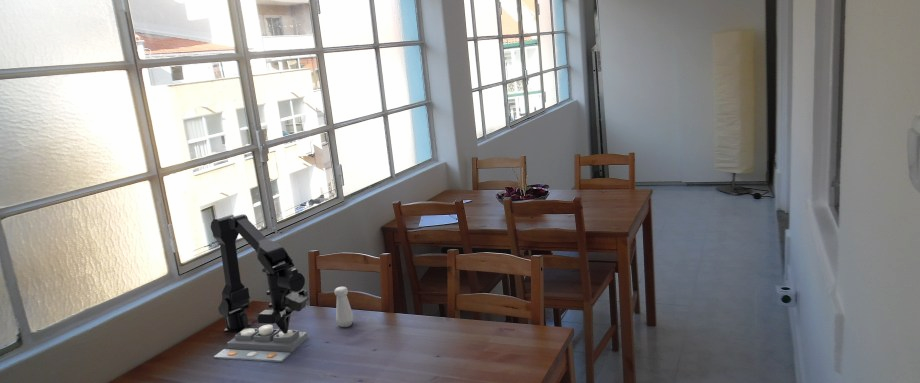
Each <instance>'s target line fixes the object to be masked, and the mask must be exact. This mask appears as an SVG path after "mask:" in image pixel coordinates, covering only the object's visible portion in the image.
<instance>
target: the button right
mask: <svg viewBox="0 0 920 383" xmlns="http://www.w3.org/2000/svg"><path fill="white" fill-rule="evenodd" d="M292 330H293V329H288V332H287V333H286V334H285V333H283V332H280V333H279V337H290V336H291V335H292V334H293V331H292Z"/></svg>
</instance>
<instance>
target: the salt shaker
mask: <svg viewBox="0 0 920 383" xmlns="http://www.w3.org/2000/svg"><path fill="white" fill-rule="evenodd" d="M348 291H349V290H348V288H347V287H346V286H338V287H336V288H334V295H335V297H336V305H335V306H336V307H335V308H336V313H335V321H336V323H337V324H338V325H339V327H341V328H348V327H351V326H352V324H353V322H354V318H355V317H354V314H353V310H352V308H351V304H350V302H349V297H348V296H347V295H348V293H349V292H348Z"/></svg>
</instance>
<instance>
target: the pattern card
mask: <svg viewBox="0 0 920 383" xmlns="http://www.w3.org/2000/svg"><path fill="white" fill-rule="evenodd" d="M291 353H292V352H282V351H263V350H244V349H228V348H223V349H222V350H221V351H219V352H218V353H217V354H215V355H214V356H213V359H222V360H223V359H225V360H243V361H259V362H276V363H283V362H284V361H285V360H286V359H287V358H288V357H289V356H290V355H291Z"/></svg>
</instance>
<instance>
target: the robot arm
mask: <svg viewBox="0 0 920 383" xmlns="http://www.w3.org/2000/svg"><path fill="white" fill-rule="evenodd" d="M210 229H211V233H212V237H213V238H214V239H215V240H216V241H217V242H218V243H219V247H220V255H221V256H220V257H221V261H222V269H223V275H224V283H225V286H224V287H223V290H222V292H221V302H220V303H219V306H218V308H217V310H218V312H219V315H222V316H223V317H224V319H225V325H226V328H224V330H223V331H224V332H228V333H229V332H231V333H239V332H240V331H242V330H243V329H245V328H249V326H251V325H252V324H251V322H249V320H248V314H247V313H246V310H247V309H249V308H250V299H251V297H250V290H249V288H248V287H246V286H245V285H244V283H243V282H242V279H241V273H240V271H241V270H240V265H239V259H238V258H239V257H238V252H237V251H238V250H237V239H238V236H239V235H240V236H241V237H242V238H243V239H244V240H245V241H246V242H247V243H248V245H250V246H251V247H252V249H253V250H255V252H256V256H257V260H258V261H259V263H260V264H261V266H263V268H262V269H261V271H262V273H265V275H266V280H267V286H268V290H267V291H266V295H267V296H269V298H270V303H269V304H268V308H272V309H264V310H263V311H261V312H260V313H258V315H257V316H256V319H257V320H256V321H257V323H258V324H264V325H273V324H276V326H277V327H278V329H279V330H280V331H282V332H283V333H285V334H286V333H287V332H288V330H289V326H290V321H291V320H290V319H291V316H292V314H293V313H294V312H301V311H302V310H303V309H304V308H306V304H307V302H309V300H310V299H309V294H308V291H307V290H305V289H303V288H305V283H306V279H305V277H304V275H303V274H302V273H300V272H299V271H298V269H297V268H294V267H295V264H294V262H293V259H292V258H291V257H290V255H289V254H288V252H287V250H286V249H285V248H284V247H283V246H282V245H281V244H279V243H278V242H277V241H273V240H270V239H268V238H267V236H265V235H264V234H263V233H262V232H261V231H260V230H259V229H258V228H257V227H256V226H255V225H254V224H253V223H252V222H251V221H250V220H249V217H248V216H247V215H246V214H245V213H241V214H237V215H234V214H231V213H230V214H226V215H223V216H221V217H220V216H219V217H217V218H214V219H212V221H211V222H210Z"/></svg>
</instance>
